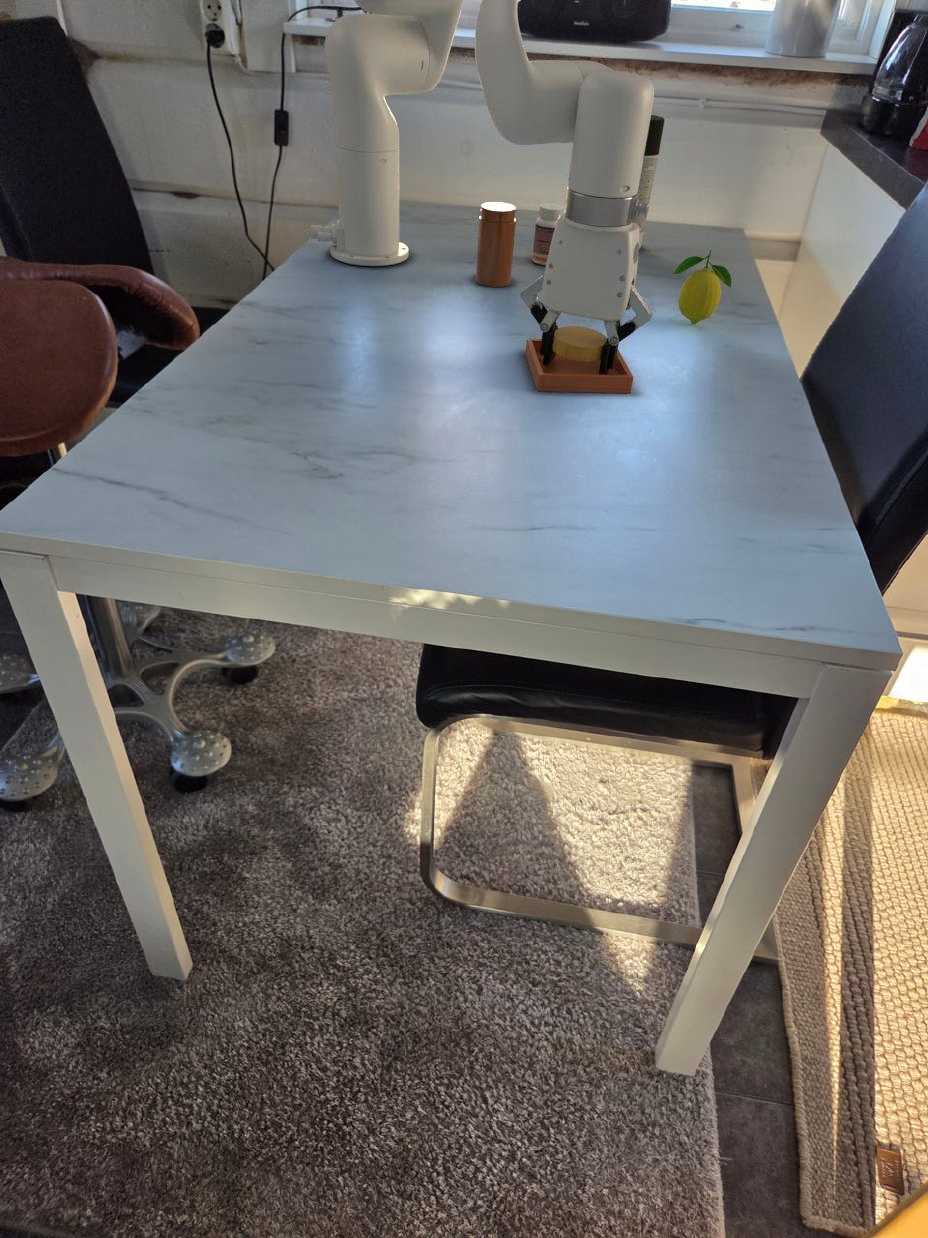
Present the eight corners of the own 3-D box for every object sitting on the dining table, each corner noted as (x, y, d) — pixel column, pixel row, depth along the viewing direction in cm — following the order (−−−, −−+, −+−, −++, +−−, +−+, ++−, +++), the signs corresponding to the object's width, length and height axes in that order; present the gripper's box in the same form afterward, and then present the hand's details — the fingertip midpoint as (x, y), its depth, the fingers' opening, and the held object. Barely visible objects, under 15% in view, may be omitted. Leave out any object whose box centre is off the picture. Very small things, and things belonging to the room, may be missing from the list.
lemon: (662, 323, 117) (677, 249, 110) (678, 313, 121) (694, 240, 114) (707, 335, 114) (725, 260, 108) (722, 324, 118) (740, 250, 112)
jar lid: (610, 347, 102) (613, 333, 101) (597, 366, 97) (600, 351, 96) (560, 336, 103) (562, 321, 102) (545, 353, 98) (547, 339, 97)
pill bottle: (559, 267, 134) (565, 211, 129) (530, 264, 135) (535, 208, 130) (562, 259, 138) (569, 204, 133) (534, 255, 139) (539, 201, 133)
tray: (537, 391, 97) (539, 374, 96) (525, 353, 106) (526, 338, 104) (630, 393, 98) (633, 377, 97) (611, 356, 107) (613, 340, 105)
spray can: (615, 239, 149) (636, 110, 136) (648, 248, 146) (672, 117, 133) (595, 246, 145) (615, 114, 132) (629, 255, 142) (652, 120, 129)
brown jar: (476, 286, 125) (481, 210, 118) (474, 275, 129) (478, 200, 122) (512, 287, 125) (519, 211, 119) (508, 276, 129) (514, 202, 123)
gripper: (684, 212, 91) (651, 370, 102) (534, 190, 95) (518, 343, 106) (672, 229, 85) (639, 393, 97) (513, 204, 89) (499, 364, 101)
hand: (576, 365), depth 101 cm, fingers closed on jar lid, 6 cm apart
